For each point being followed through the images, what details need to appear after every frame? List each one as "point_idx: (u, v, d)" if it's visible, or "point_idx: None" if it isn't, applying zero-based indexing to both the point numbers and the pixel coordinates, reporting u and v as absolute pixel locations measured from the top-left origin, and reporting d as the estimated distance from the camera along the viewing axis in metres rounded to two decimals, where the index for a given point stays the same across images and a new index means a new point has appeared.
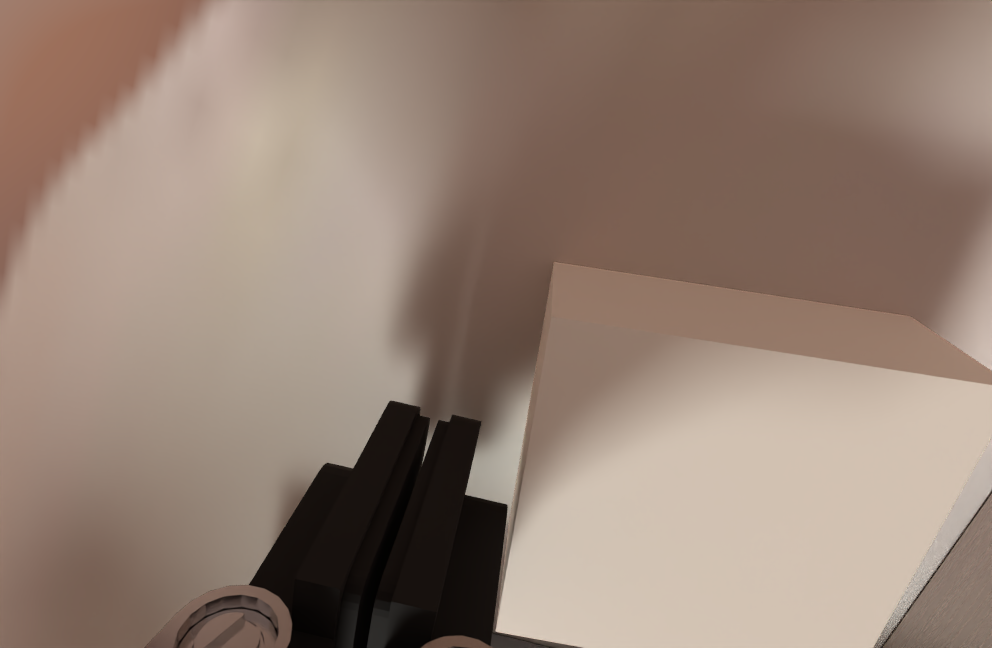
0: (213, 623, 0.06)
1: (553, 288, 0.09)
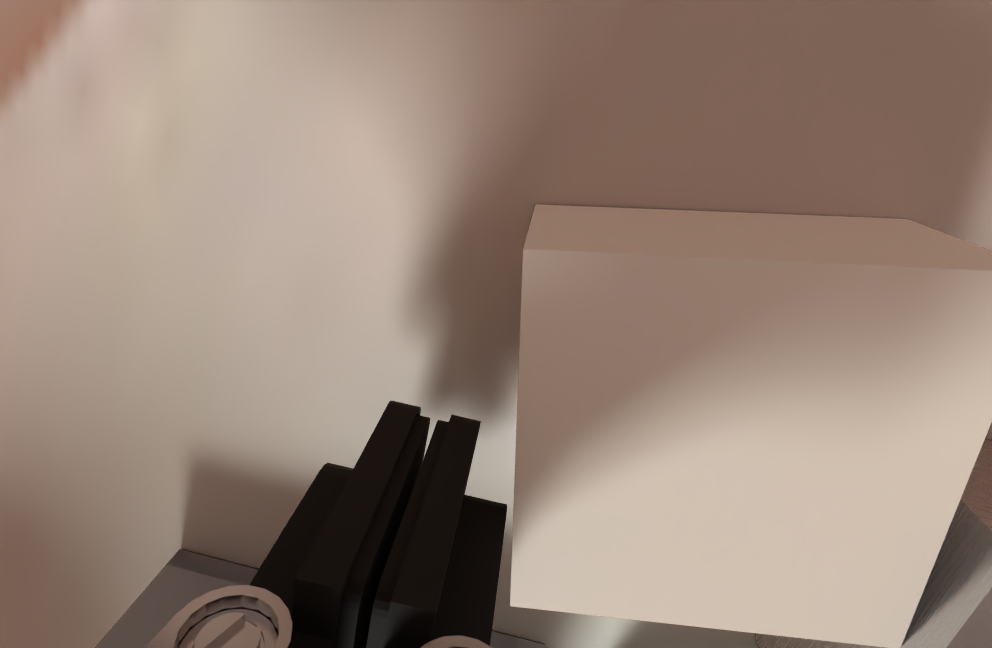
0: (214, 623, 0.06)
1: (529, 228, 0.08)
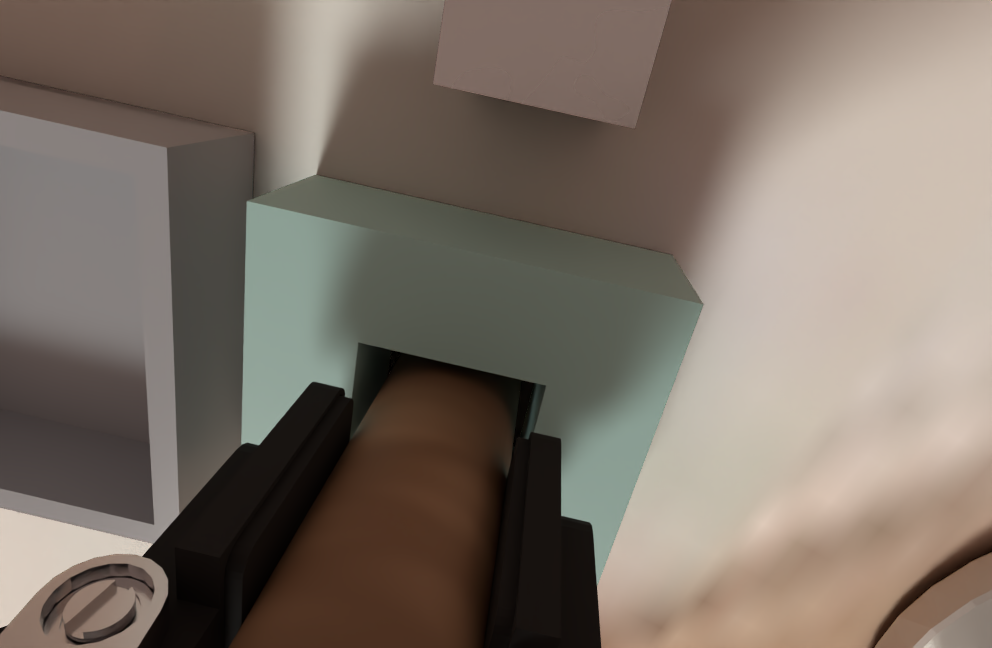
0: (81, 594, 0.06)
1: None
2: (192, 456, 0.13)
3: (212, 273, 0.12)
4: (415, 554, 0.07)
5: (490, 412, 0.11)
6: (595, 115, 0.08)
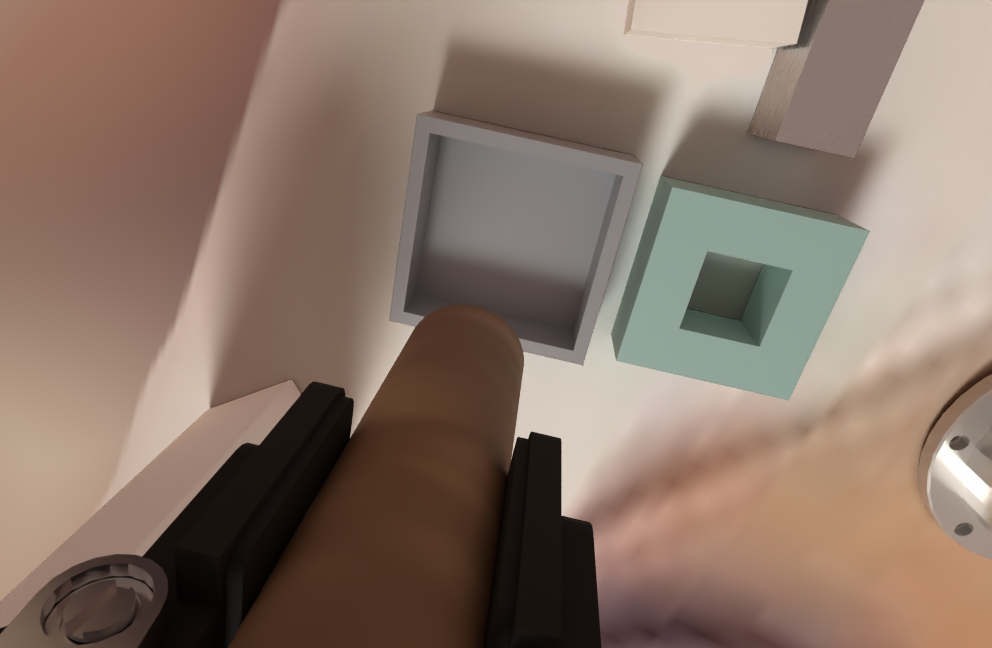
0: (81, 594, 0.06)
1: None
2: None
3: None
4: (424, 517, 0.07)
5: (493, 393, 0.11)
6: (838, 153, 0.21)
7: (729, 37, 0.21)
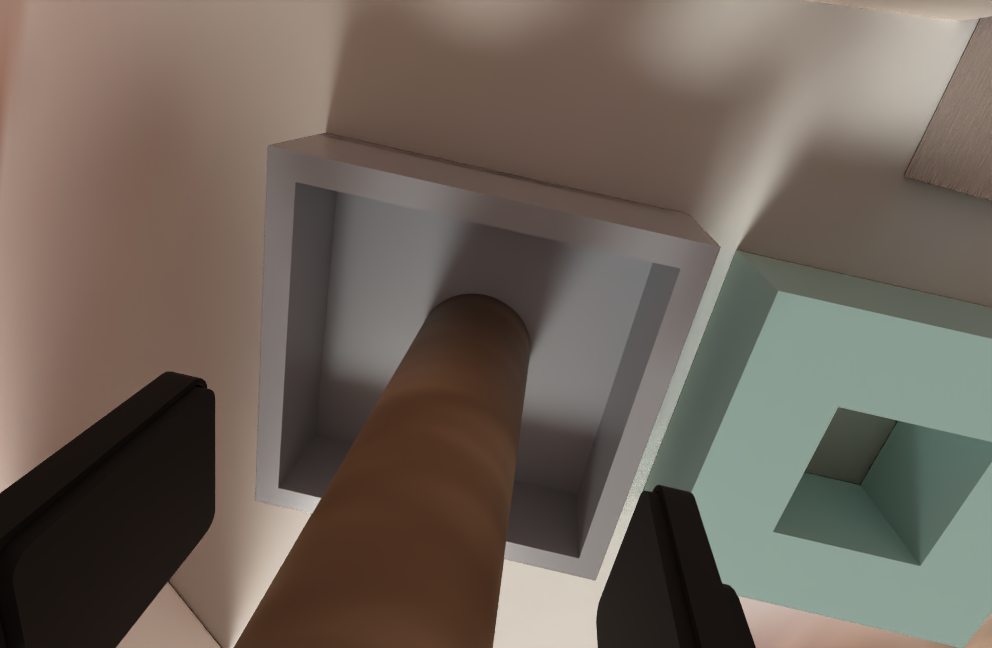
0: None
1: None
2: None
3: None
4: (443, 475, 0.08)
5: (503, 372, 0.12)
6: None
7: None
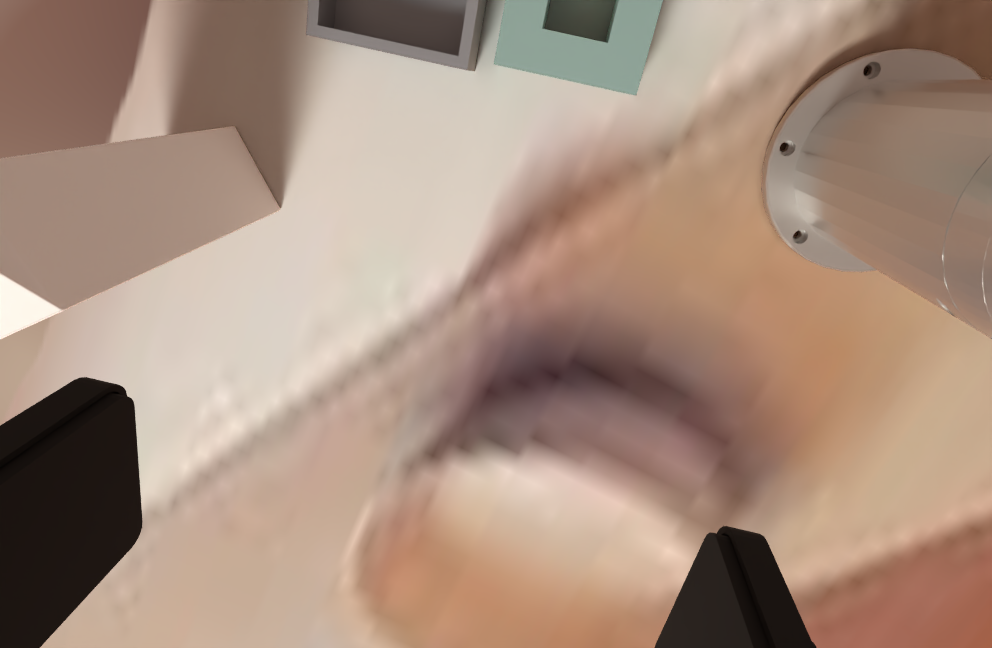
0: None
1: None
2: (476, 24, 0.31)
3: None
4: None
5: None
6: None
7: None
